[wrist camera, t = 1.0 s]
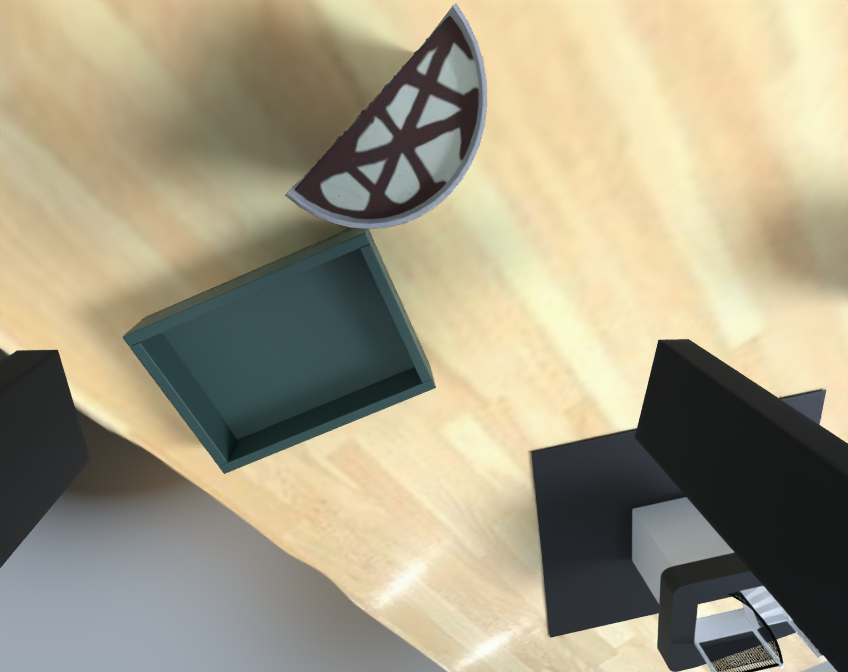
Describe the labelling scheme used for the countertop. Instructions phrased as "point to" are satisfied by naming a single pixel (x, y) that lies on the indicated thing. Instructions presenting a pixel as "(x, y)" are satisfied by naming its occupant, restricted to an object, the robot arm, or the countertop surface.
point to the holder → (286, 350)
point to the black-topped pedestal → (648, 555)
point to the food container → (406, 138)
